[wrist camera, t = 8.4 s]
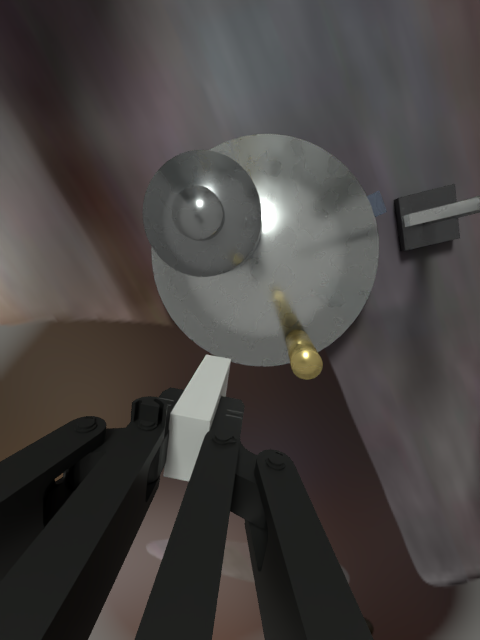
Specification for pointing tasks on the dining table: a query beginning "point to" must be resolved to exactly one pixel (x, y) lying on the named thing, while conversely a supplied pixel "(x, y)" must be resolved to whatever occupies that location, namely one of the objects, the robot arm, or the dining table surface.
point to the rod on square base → (431, 216)
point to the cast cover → (202, 213)
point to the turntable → (285, 262)
